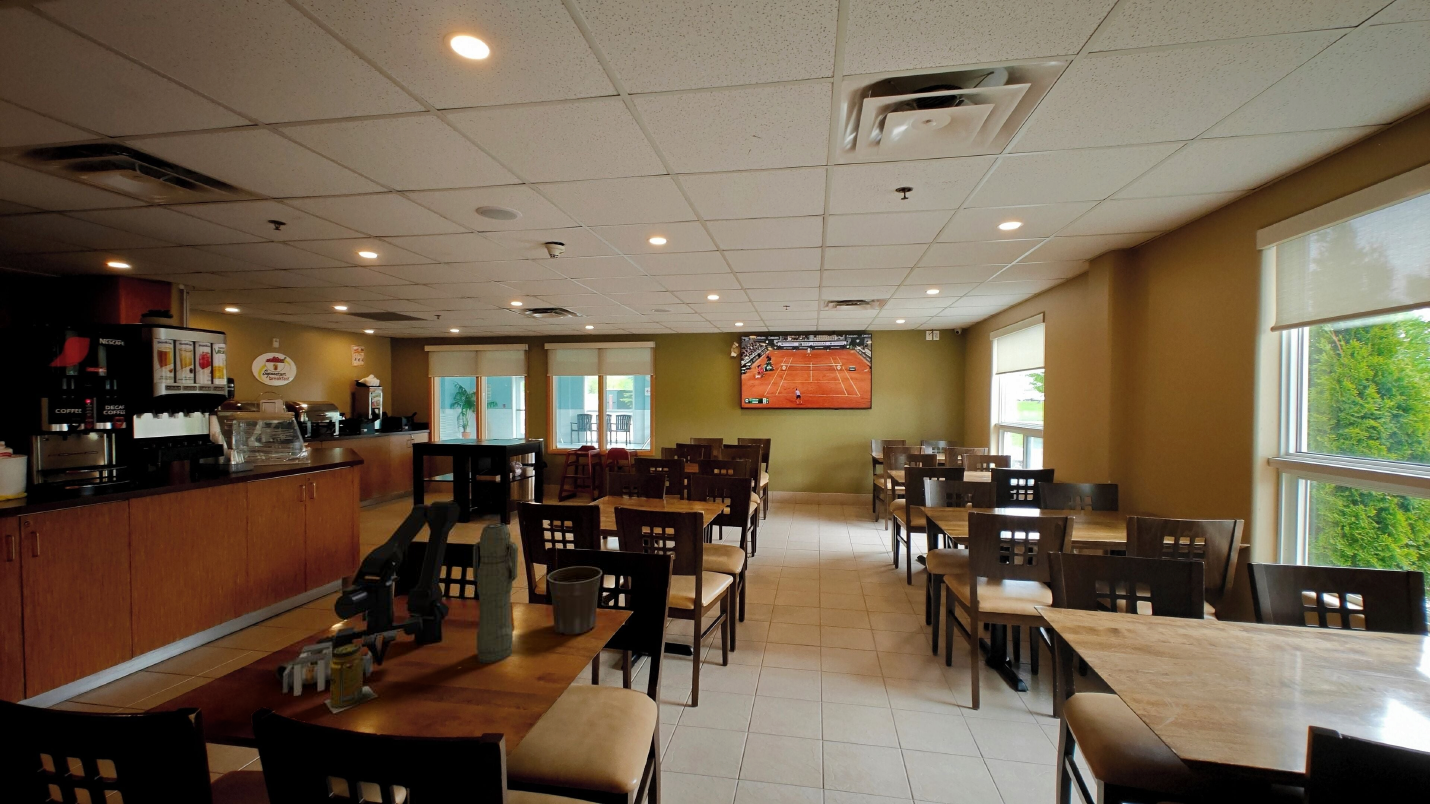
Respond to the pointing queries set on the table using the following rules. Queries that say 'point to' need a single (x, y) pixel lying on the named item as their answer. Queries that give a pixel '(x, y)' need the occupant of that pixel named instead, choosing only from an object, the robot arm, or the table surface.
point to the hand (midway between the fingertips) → (379, 665)
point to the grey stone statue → (495, 592)
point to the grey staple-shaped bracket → (305, 662)
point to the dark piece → (283, 667)
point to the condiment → (347, 679)
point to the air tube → (312, 673)
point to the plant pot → (574, 598)
